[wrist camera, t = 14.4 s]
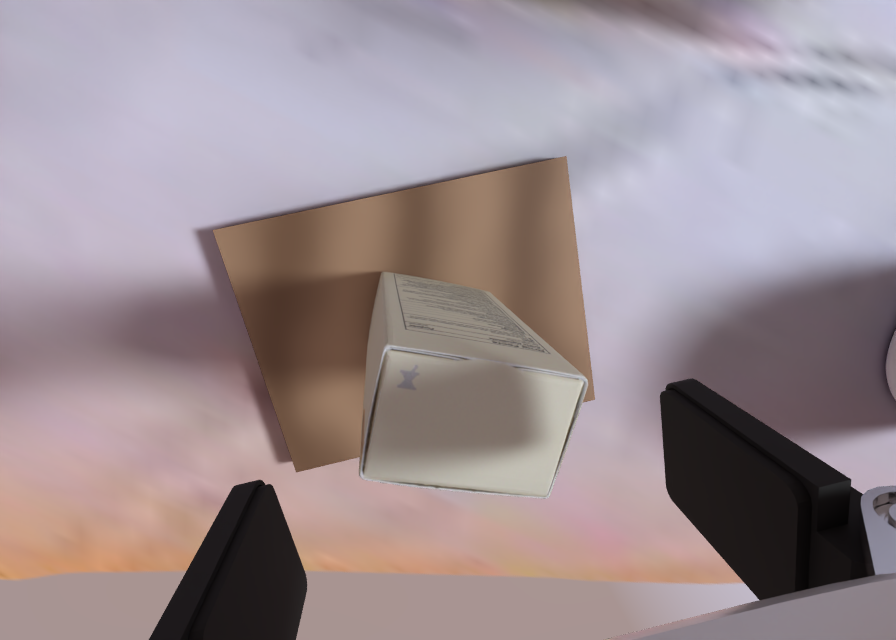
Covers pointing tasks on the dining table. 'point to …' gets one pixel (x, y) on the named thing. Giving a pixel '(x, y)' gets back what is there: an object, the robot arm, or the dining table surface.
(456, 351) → the skincare box
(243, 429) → the dining table surface
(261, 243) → the walnut board
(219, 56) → the dining table surface
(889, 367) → the supplement tub
